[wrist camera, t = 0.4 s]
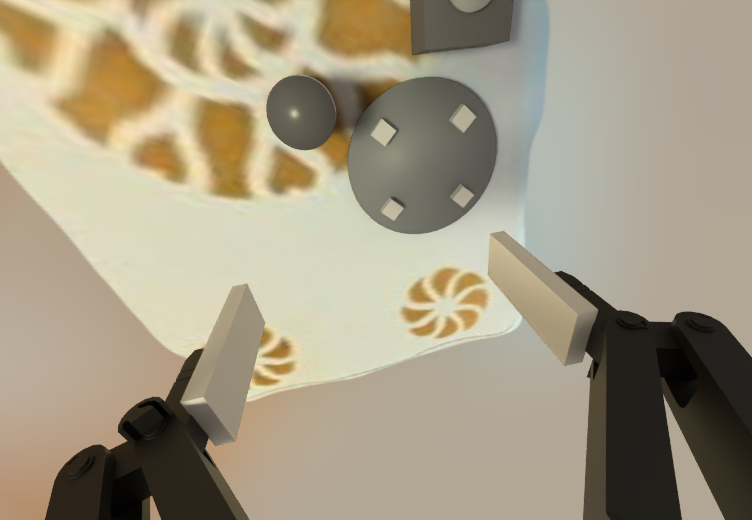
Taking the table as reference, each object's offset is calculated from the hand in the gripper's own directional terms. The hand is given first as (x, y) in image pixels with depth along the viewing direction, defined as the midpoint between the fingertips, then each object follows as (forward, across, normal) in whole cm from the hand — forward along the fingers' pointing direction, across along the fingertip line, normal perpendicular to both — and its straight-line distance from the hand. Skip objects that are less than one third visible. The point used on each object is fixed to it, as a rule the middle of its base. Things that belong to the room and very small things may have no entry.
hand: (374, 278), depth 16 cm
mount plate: (+23, +9, -1) cm, 25 cm away
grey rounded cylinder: (+23, -3, +7) cm, 25 cm away
